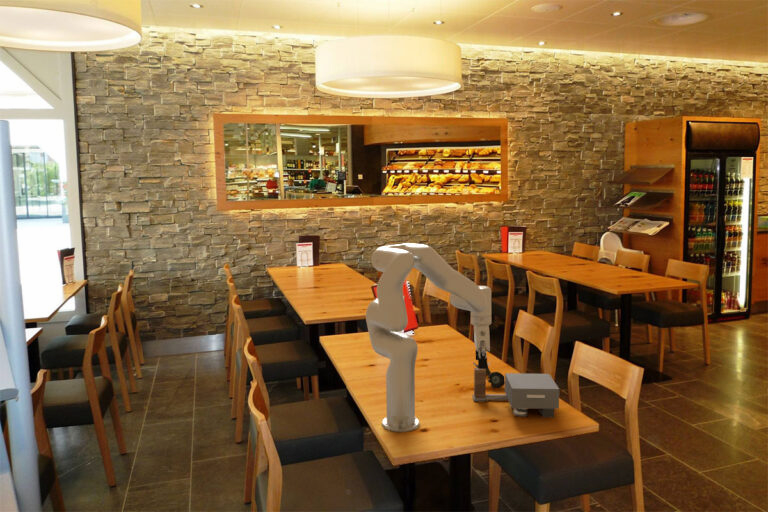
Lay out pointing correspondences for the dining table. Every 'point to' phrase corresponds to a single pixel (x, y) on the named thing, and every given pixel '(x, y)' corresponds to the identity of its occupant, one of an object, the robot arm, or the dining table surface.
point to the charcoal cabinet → (532, 392)
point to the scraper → (483, 388)
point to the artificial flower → (494, 378)
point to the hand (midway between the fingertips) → (481, 364)
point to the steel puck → (520, 412)
